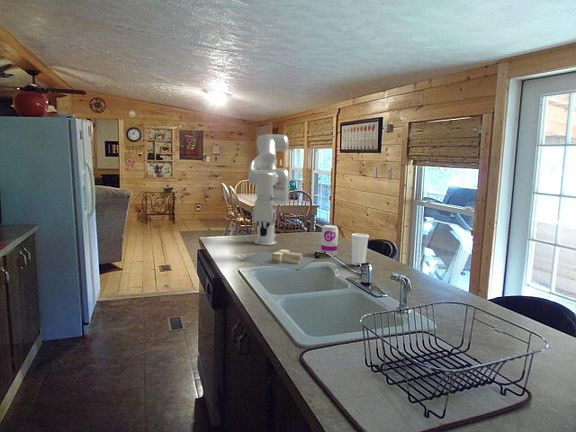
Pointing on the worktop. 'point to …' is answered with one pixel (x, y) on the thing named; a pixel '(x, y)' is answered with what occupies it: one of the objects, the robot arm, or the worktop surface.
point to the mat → (266, 259)
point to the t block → (286, 257)
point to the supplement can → (329, 239)
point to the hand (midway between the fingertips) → (263, 235)
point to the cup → (359, 248)
